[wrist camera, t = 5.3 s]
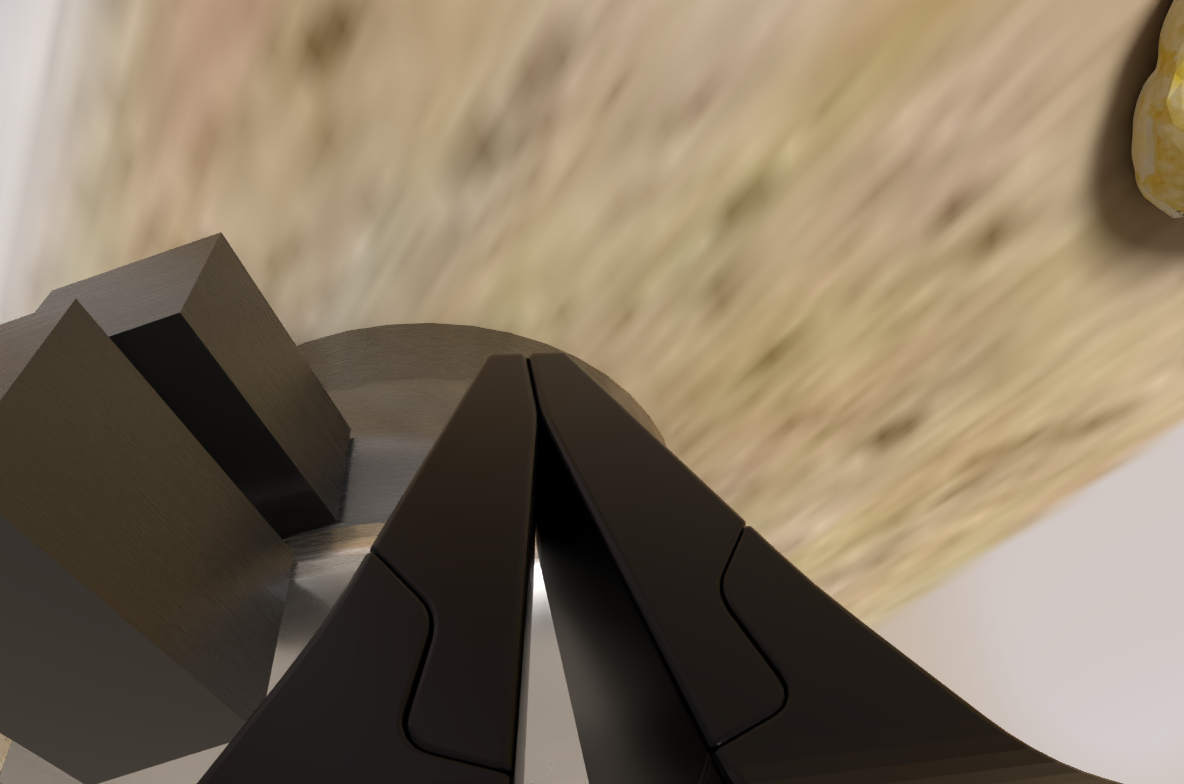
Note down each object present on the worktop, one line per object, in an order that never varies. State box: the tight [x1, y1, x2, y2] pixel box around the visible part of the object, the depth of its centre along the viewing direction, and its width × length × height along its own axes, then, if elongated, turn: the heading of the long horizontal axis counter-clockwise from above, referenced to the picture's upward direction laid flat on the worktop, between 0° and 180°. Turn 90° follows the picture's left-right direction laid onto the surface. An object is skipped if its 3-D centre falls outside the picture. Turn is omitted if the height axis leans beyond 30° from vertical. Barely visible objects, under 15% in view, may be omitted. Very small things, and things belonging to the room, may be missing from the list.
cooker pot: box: [35, 233, 667, 539], centre depth 19 cm, size 20×15×7 cm
